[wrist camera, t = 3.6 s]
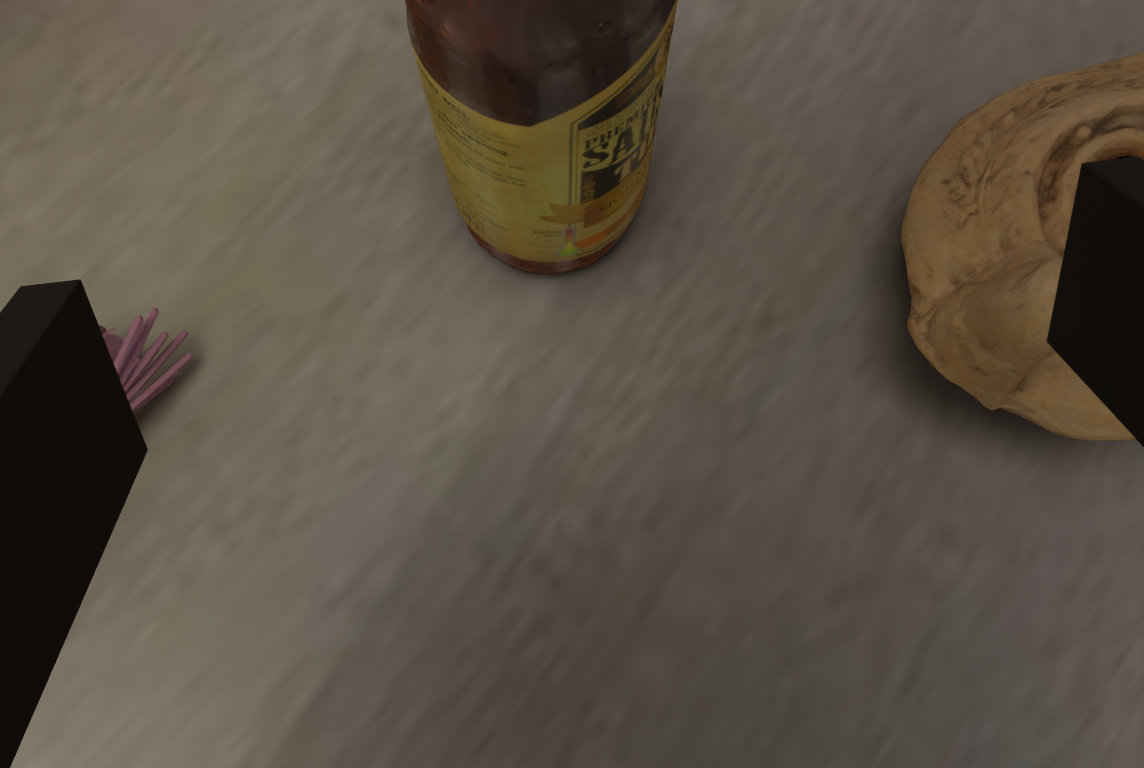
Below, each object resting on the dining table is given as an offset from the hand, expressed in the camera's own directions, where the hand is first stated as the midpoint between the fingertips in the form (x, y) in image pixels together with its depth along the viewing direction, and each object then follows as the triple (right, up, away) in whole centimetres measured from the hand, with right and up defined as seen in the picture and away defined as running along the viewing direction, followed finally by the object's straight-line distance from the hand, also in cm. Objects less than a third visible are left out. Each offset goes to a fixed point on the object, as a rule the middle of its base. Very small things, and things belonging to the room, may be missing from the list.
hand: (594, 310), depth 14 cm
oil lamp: (+16, +3, +20) cm, 26 cm away
